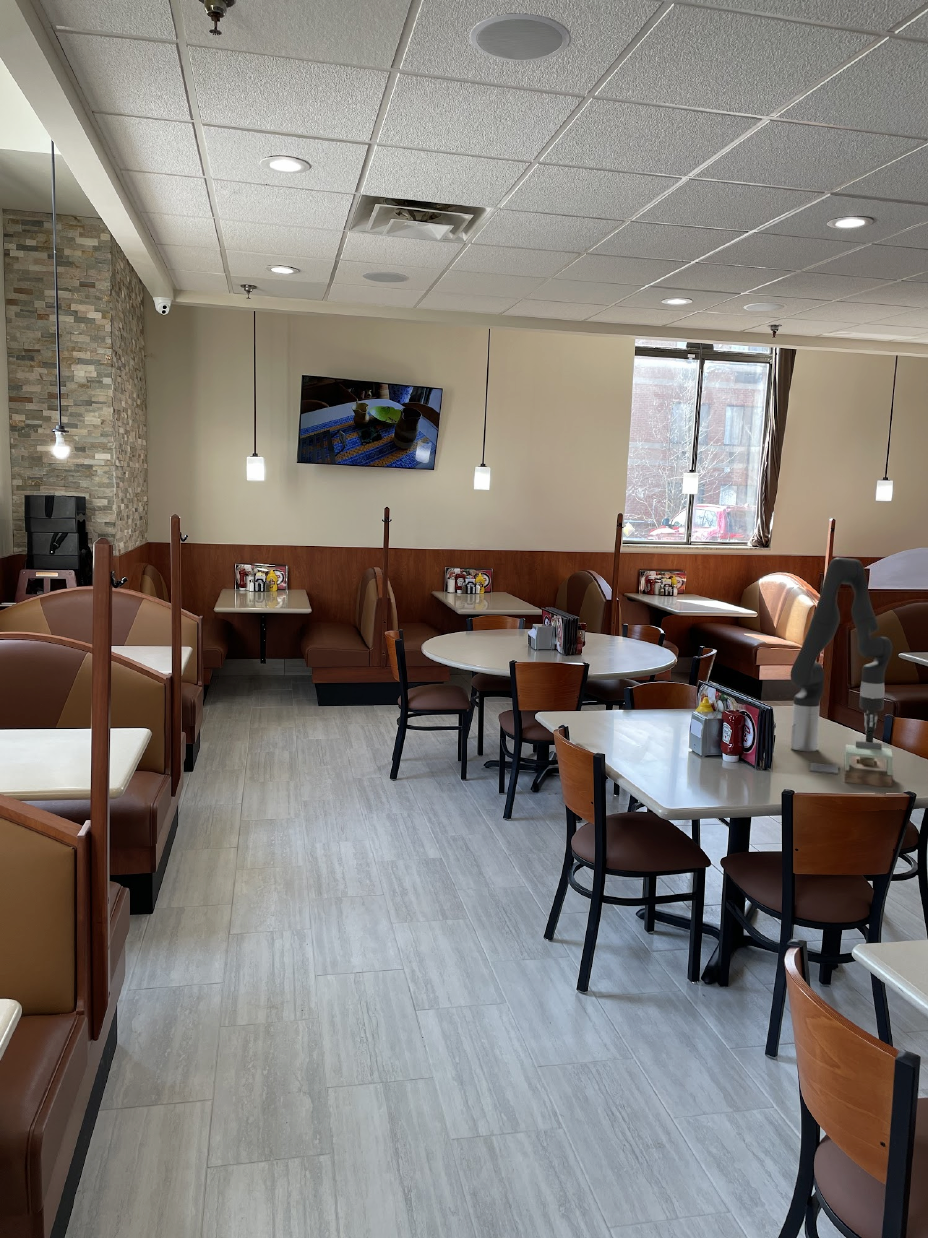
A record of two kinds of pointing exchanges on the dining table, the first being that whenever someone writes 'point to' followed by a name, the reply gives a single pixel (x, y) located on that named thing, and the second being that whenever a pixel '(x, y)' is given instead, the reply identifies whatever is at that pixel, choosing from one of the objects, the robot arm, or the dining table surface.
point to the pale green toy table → (869, 753)
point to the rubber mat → (824, 768)
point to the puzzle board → (867, 772)
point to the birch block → (866, 761)
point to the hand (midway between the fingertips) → (869, 744)
